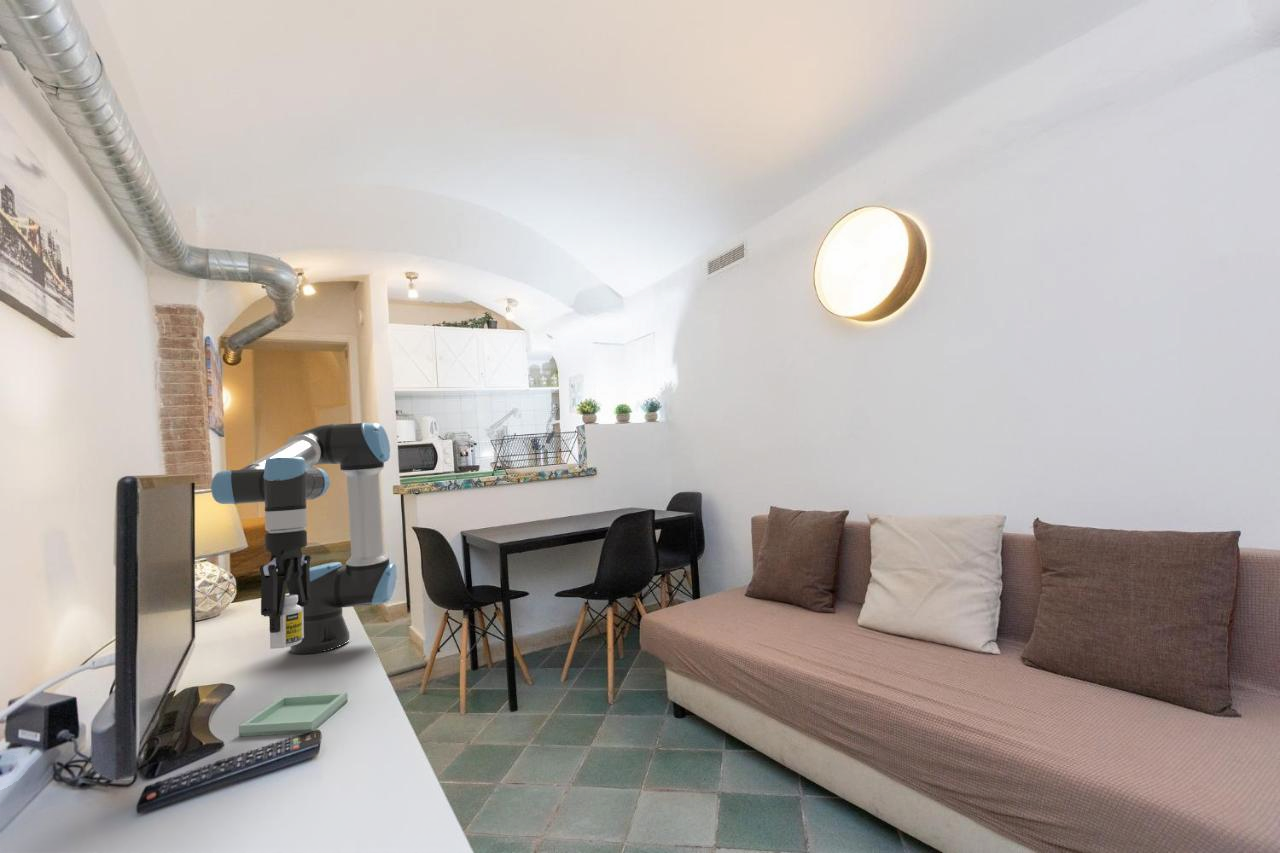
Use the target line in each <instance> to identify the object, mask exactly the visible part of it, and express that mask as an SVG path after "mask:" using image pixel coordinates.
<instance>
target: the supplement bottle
mask: <svg viewBox="0 0 1280 853" xmlns="http://www.w3.org/2000/svg"><path fill="white" fill-rule="evenodd" d="M297 602H298V595H289V594H287V595H286V594H285V600H284V606H283V613H282V614H286V647H285V648H289V647H290V646H293V645H296V644H299V643H300V642H301V641H302V608H301V606H299V605H297ZM290 648H291V647H290Z"/></svg>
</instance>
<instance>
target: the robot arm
mask: <svg viewBox="0 0 1280 853" xmlns="http://www.w3.org/2000/svg"><path fill="white" fill-rule="evenodd" d="M390 453H391V445H390V441H389V437H388V434H387V431H386V430H385V428H384V427H383V426H382V424H379V423H374V422H358V423H339V424H337V423H336V424H335V423H334V424H332V423H331V424H323V425H319V426H315V427H312V428H309V429H307V430H304V431H301V432H299V433H297V434H295V435H293V436H291V437H290V438H288V439H287V440H286V442H285V443H284V445H282V446H281V447H279V448H277V449H276V450H273V451H272V452H270V453H268V454H266V455H264V456H263V457H261V458H259V459H258V460H255V461H254V462H252V463H249V464H248V465H246V466H245V467H242V468H241V469H229V470H223V471H219V472H217V473H216V474H214V476H213V477H212V480H211V484H210V490H211V495H212V498H213V500H214V501H215V502H217V503H218V504H221V505H228V504H229V505H230V504H231V505H238V504H254V503H264V530H265V531H268V532H266V533H265V535H264V550H265V551H266V552H269V553H270V558H269V562H268V563H267V564H263V565H260V566H259V573H260V577H261V584H260V585H261V587H260V589H261V590H260V591H261V592H260V614H261V616H263V617H268V618H269V642H270V643H269V649H271V650H272V649H284V648H287V647H286V614H282V613H283V606H284V600H285V595H286V593H287V591H288V595H298V602H297V605H299V606H301V608H302V641H301V642H300V643H299V644H296V645H293V646H290V653H292V654H298V655H308V654H316V653H315V652H317V653H321V652H320V651H323V652H325V651H324V650H328V649H331V648H334V647H337V646H339V645H342V644H344V643H345V642H347V641H348V640H349V639H350V638H351V636H350V631H349V628H348V625H347V623H346V621H345V618H344V615H343V608H350V607H351V608H352V607H365V606H375V605H376V606H377V605H382V604H383V605H384V604H386V603H388V602H390V601H391V598H392V597H393V594H394V591H395V589H396V588H395V587H396V583H397V575H398V574H397V572H398V570H397V565H396V563H393V562H390V556H389V555H388V554H386V553H385V552H384V545H383V529H382V528H383V526H382V523H383V522H382V509H381V490H380V472H381V471H382V470H384V468H385V465H384V464H385V462H388V461H389V459H390V457H391V454H390ZM338 464H339V467H340V472H342V473H343V474H344V475H345V476H346V484H347V488H346V489H347V501H348V502H347V503H348V504H347V505H348V519H349V536H350V538H349V539H350V553H351V555H350V557H349V558H348V559H347V560H346V562H345V566H343V564H342V562H340V561H335V562H329V563H324V564H319V565H316V566H311V567H310V564H311V559H312V558H311V555H310V554H305V555H304V554H303V551H302V549H304V548H306V547H307V546H308V532H307V530H306V529H305V528H306V527H307V526H308V522H307V521H308V520H307V518H308V517H307V500H308V501H309V500H315V499H317V498H320V497H322V496H323V495H325V493H327V491H328V490H329V487H330V483H331V480H330V477H329V475H328V474H327V472H326V471H325V470H323V468H320V467H316V466H315V465H317V466H318V465H338ZM331 650H332V649H331ZM328 651H329V650H328ZM307 653H308V654H307Z"/></svg>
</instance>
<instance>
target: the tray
mask: <svg viewBox="0 0 1280 853" xmlns="http://www.w3.org/2000/svg"><path fill="white" fill-rule="evenodd" d="M348 698H349V697H348V692H331V693H330V692H329V693H316V694H302V695H301V694H299V695H298V694H297V695H282V696H281V697H280V698H278V699H277V700H275V701H273V702H272V703H271V704H269V705H268V706H266V707H265V708H263V709H262V710H261V711H258V712H257V713H256V714H254V715H253V716H251V717H250V718H248V719H247V720H245V721H244V722H243V723H241V724H240V725H239V726H238V737H239V738H240V737H254V736H256V737H257V736H270V735H286V734H290V735H291V734H302V733H312V732H311V731H313V730H314V731H315V730H316V729H318V728H319V727H320V726H321V725H322V724H323V723H325V721H327V720H328V719H329V718H331V717H332V716H333V715H334V714H335V713H336V712H338V711H339V710H340V709H341V708H342V707H343V706H345V705H346V704H347V703H348ZM314 731H313V732H314Z"/></svg>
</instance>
